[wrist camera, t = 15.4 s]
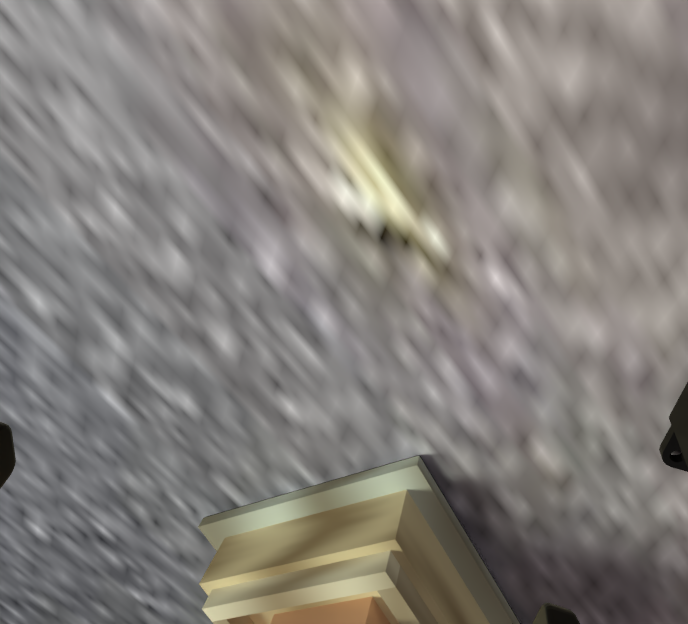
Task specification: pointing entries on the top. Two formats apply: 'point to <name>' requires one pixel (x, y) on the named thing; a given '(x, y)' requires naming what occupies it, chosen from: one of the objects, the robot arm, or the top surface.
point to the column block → (336, 614)
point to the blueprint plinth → (351, 553)
